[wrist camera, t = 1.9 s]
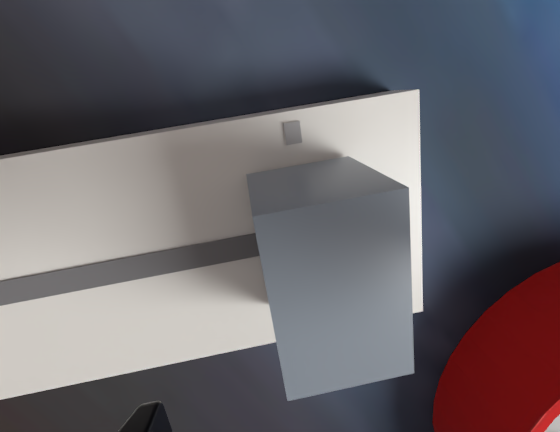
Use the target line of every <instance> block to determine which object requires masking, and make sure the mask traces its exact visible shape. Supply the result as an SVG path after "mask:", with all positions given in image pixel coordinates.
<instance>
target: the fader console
mask: <svg viewBox="0 0 560 432" xmlns="http://www.w3.org/2000/svg"><path fill="white" fill-rule="evenodd" d="M346 156H349V157H351V158H353V159H355V160H357V161H359V162H361V163H363V164H365V165H367V166H368V167H370V168H372V169H374V170H376V171H378V172H380V173H382V174H384V175H386V176H388V177H390V178H391V179H393V180H395V181H397V182H399V183H401V184H403V185H405V186H407V187H409V205H410V240H411V275H412V310H413V313H417V312H422V311H423V283H422V223H421V163H420V103H419V89H416V90H392V91H386V92H380V93H374V94H368V95H362V96H356V97H350V98H344V99H338V100H332V101H326V102H320V103H314V104H308V105H301V106H295V107H289V108H283V109H277V110H271V111H265V112H259V113H253V114H247V115H241V116H235V117H229V118H223V119H217V120H211V121H205V122H199V123H193V124H187V125H181V126H175V127H169V128H163V129H157V130H151V131H145V132H139V133H133V134H127V135H121V136H115V137H109V138H103V139H97V140H91V141H85V142H79V143H73V144H67V145H61V146H55V147H49V148H43V149H37V150H31V151H25V152H19V153H13V154H7V155H1V156H0V400H1V399H6V398H11V397H16V396H20V395H25V394H30V393H35V392H40V391H44V390H49V389H54V388H59V387H63V386H68V385H73V384H78V383H83V382H87V381H92V380H97V379H102V378H106V377H111V376H116V375H121V374H126V373H130V372H135V371H140V370H145V369H149V368H154V367H159V366H164V365H169V364H173V363H178V362H183V361H188V360H192V359H197V358H202V357H207V356H212V355H216V354H221V353H226V352H231V351H235V350H240V349H245V348H250V347H255V346H259V345H264V344H269V343H274V342H276V338H275V333H274V328H273V322H272V317H271V312H270V307H269V301H268V296H267V291H266V286H265V281H264V275H263V270H262V265H261V260H260V254H259V249H258V244H257V239H256V234H255V228H254V223H253V218H252V211H251V204H250V197H249V190H248V183H247V176H246V174H250V173H256V172H262V171H267V170H273V169H279V168H284V167H290V166H295V165H301V164H307V163H312V162H318V161H324V160H329V159H335V158H341V157H346Z"/></svg>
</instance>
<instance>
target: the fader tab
mask: <svg viewBox="0 0 560 432" xmlns="http://www.w3.org/2000/svg"><path fill="white" fill-rule="evenodd" d="M246 176H247V183H248V190H249V197H250V204H251V211H252V218H253V223H254V228H255V234H256V239H257V244H258V249H259V254H260V260H261V265H262V270H263V275H264V281H265V286H266V291H267V296H268V301H269V307H270V312H271V317H272V322H273V328H274V333H275V338H276V343H277V348H278V354H279V359H280V364H281V369H282V374H283V380H284V385H285V390H286V395H287V401H291V400H295V399H300V398H304V397H309V396H313V395H318V394H323V393H327V392H332V391H336V390H341V389H345V388H350V387H354V386H359V385H363V384H368V383H372V382H377V381H381V380H386V379H390V378H395V377H400V376H404V375H409V374H413V373H414V345H413V310H412V275H411V240H410V205H409V187H407V186H405V185H403V184H401V183H399V182H397V181H395V180H393V179H391V178H390V177H388V176H386V175H384V174H382V173H380V172H378V171H376V170H374V169H372V168H370V167H368V166H367V165H365V164H363V163H361V162H359V161H357V160H355V159H353V158H351V157H349V156H346V157H341V158H335V159H329V160H324V161H318V162H312V163H307V164H301V165H295V166H290V167H284V168H279V169H273V170H267V171H262V172H256V173H250V174H246Z"/></svg>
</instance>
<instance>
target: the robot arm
mask: <svg viewBox="0 0 560 432" xmlns="http://www.w3.org/2000/svg"><path fill="white" fill-rule="evenodd" d="M118 432H172V429H171V426H170V423H169V420H168V417H167V414H166V411H165V409H164V406H163V404H162V403H161V402H160V401H154V402H150V403H145V404H142V405H140V406H139V407H138V408H137V409H136V410H135V411H134V413H133V414H132V415H131V416H130V418H129V419H128V420H127V421H126V422H125V424H124V425H123V426H122V427H121V429H120V430H119V431H118Z"/></svg>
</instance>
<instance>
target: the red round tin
mask: <svg viewBox="0 0 560 432" xmlns="http://www.w3.org/2000/svg"><path fill="white" fill-rule="evenodd" d="M433 427H434V432H560V262H558V263H556V264H554V265H552V266H550V267H548V268H546V269H544V270H541V271H539V272H537V273H535V274H534V275H532V276H531V277H529V278H528V279H526V280H525V281H523V282H522V283H520V284H519V285H517V286H516V287H514V288H513V289H511V290H510V291H508V292H507V293H506V294H505V295H504V296H502V297H501V298H500V299H499V300H498V301H497V302H495V303H494V304H493V305H492V306H491V307H490V308H488V309H487V310H486V311H485V312H484V313H483V314H482V315H481V317H480V318H479V319H478V320H477V321H476V322H475V323H474V324H473V326H472V327H471V328H470V329H469V330H468V331H467V332H466V333H465V335H464V336H463V338H462V339H461V341H460V342H459V344H458V345H457V347H456V348H455V350H454V351H453V353H452V354H451V356H450V358H449V360H448V362H447V364H446V366H445V368H444V371H443V373H442V375H441V377H440V379H439V383H438V387H437V391H436V394H435V398H434V404H433Z"/></svg>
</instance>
